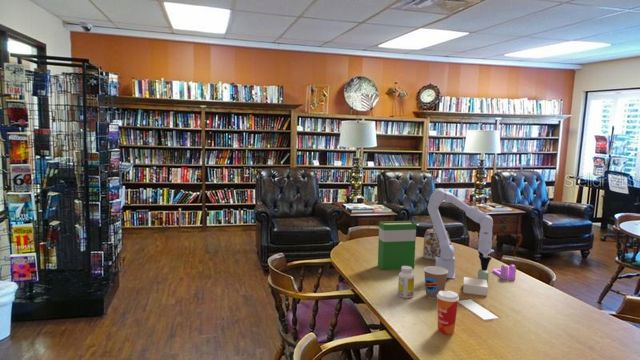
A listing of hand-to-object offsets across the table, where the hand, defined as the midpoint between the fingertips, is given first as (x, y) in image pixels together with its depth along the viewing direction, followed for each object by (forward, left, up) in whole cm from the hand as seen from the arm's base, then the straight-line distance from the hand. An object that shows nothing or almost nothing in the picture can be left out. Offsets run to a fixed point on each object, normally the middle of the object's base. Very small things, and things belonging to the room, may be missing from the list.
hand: (483, 267), depth 203 cm
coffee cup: (-21, -29, -7) cm, 36 cm away
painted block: (-4, -15, -7) cm, 17 cm away
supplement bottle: (-33, -33, -7) cm, 47 cm away
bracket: (+10, +13, -7) cm, 18 cm away
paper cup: (-15, -61, -7) cm, 63 cm away
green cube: (0, 0, -7) cm, 7 cm away
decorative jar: (-24, +31, -7) cm, 40 cm away
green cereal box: (-43, +5, -7) cm, 44 cm away
